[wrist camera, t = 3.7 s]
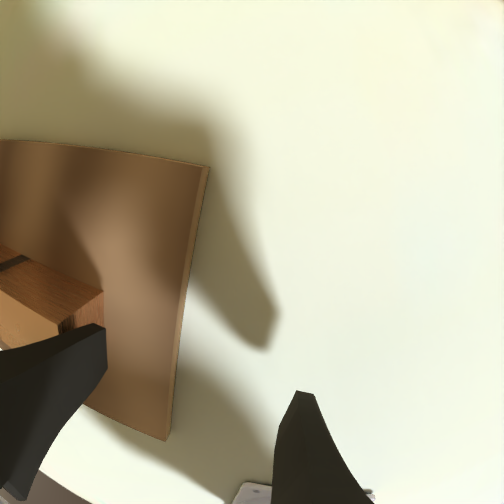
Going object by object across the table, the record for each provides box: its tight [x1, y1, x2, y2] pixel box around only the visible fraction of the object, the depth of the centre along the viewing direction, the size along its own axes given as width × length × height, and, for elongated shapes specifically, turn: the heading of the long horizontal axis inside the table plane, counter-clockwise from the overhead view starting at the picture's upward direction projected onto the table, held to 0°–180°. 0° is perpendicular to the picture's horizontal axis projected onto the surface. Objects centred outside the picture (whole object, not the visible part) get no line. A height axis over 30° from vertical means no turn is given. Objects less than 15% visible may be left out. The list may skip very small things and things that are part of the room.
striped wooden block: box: [0, 243, 104, 349], centre depth 10 cm, size 10×3×3 cm, turn 77°
